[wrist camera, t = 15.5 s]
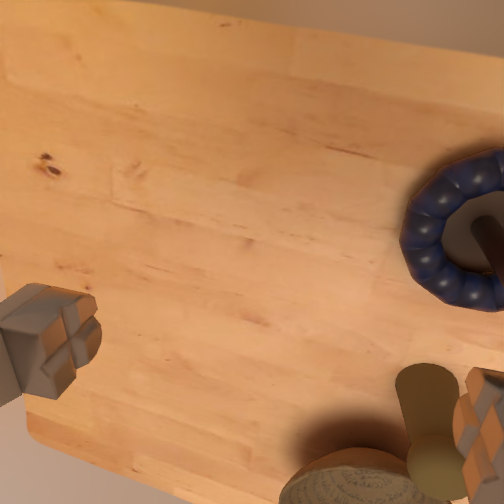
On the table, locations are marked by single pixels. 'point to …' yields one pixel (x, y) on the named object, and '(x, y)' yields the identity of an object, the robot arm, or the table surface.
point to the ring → (432, 227)
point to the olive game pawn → (431, 430)
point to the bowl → (354, 480)
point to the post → (477, 235)
